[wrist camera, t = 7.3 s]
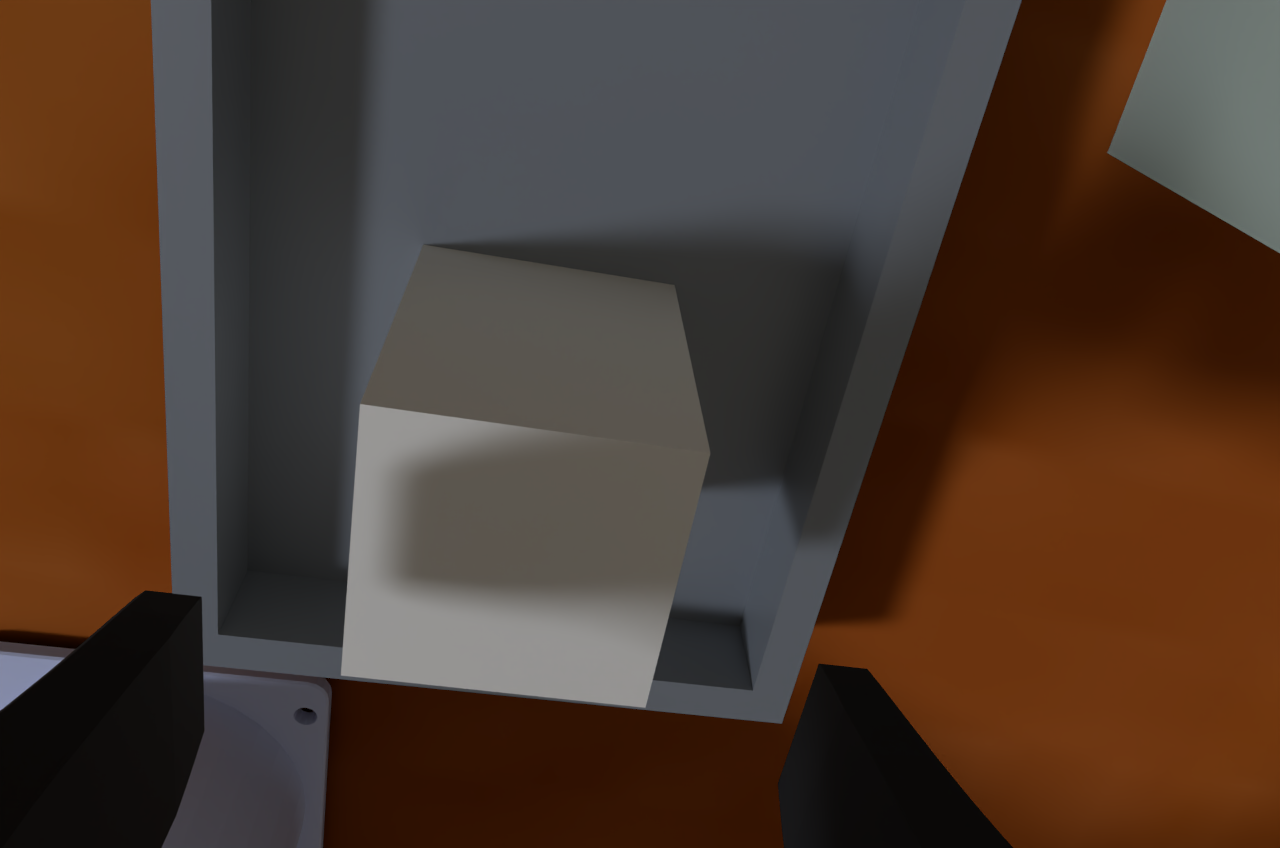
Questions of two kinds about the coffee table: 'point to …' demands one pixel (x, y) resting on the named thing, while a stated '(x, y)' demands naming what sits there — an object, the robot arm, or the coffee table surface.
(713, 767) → the coffee table surface
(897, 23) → the grey tray
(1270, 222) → the sage block
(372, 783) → the coffee table surface
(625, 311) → the cream block
